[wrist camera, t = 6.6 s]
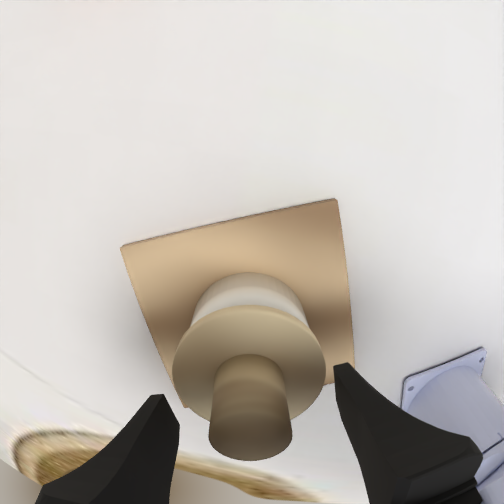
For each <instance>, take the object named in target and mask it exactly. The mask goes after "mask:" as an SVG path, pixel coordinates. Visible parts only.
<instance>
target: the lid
mask: <svg viewBox="0 0 504 504" xmlns="http://www.w3.org/2000/svg"><path fill="white" fill-rule="evenodd" d="M172 377H173V382H174V385H175V388H176V390H177V393H178V395H179V396H180V398H181V399H182V400H183V402H184V403H185V404H186V405H187V406H188V407H189V408H190V409H191V410H192V411H193V412H195V413H196V414H198V415H199V416H201V417H202V418H204V419H206V420H208V421H210V426H209V441H210V443H211V445H212V447H213V448H214V449H215V450H216V451H218V452H219V453H221V454H222V455H224V456H227V457H229V458H232V459H236V460H243V461H257V460H263V459H267V458H270V457H273V456H276V455H277V454H279V453H281V452H282V451H284V450H285V449H286V448H287V447H288V446H289V444H290V443H291V440H292V428H291V422H290V420H291V419H293V418H295V417H297V416H298V415H300V414H301V413H303V412H304V411H305V410H306V409H308V408H309V407H310V406H311V405H312V404H313V402H314V401H315V400H316V398H317V397H318V395H319V394H320V392H321V390H322V388H323V385H324V382H325V377H326V364H325V359H324V356H323V353H322V350H321V347H320V345H319V342H318V340H317V338H316V336H315V335H314V334H313V332H312V331H311V330H310V329H309V328H308V327H307V326H306V325H305V324H304V323H303V322H302V321H300V320H299V319H298V318H296V317H294V316H293V315H291V314H289V313H287V312H284V311H282V310H279V309H276V308H272V307H268V306H260V305H238V306H232V307H227V308H223V309H220V310H217V311H214V312H212V313H210V314H208V315H206V316H204V317H203V318H201V319H199V320H198V321H197V322H195V323H194V324H193V325H192V326H191V327H190V328H189V329H188V330H187V331H186V333H185V334H184V335H183V337H182V339H181V340H180V342H179V345H178V347H177V350H176V354H175V357H174V361H173V365H172Z"/></svg>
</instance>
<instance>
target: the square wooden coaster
mask: <svg viewBox="0 0 504 504" xmlns="http://www.w3.org/2000/svg"><path fill="white" fill-rule="evenodd" d="M120 251H121V254H122V257H123V260H124V263H125V266H126V269H127V272H128V275H129V278H130V280H131V283H132V286H133V289H134V291H135V294H136V297H137V300H138V302H139V305H140V308H141V310H142V313H143V315H144V318H145V320H146V323H147V326H148V328H149V330H150V333H151V335H152V338H153V340H154V343H155V345H156V347H157V350H158V352H159V354H160V357H161V359H162V361H163V364H164V366H165V368H166V370H167V373H168V375H169V377H170V379H171V381H172V383H173V386H174V388H175V385H174V382H173V377H172V365H173V361H174V357H175V354H176V350H177V347H178V345H179V342H180V340H181V339H182V337H183V335H184V334H185V333H186V331H187V330H188V329H189V328H190V325H191V322H192V318H193V315H194V311H195V308H196V305H197V303H198V301H199V299H200V297H201V296H202V294H203V293H204V292H205V291H206V290H207V289H208V288H209V287H210V286H211V285H212V284H214V283H215V282H216V281H218V280H220V279H222V278H224V277H227V276H229V275H233V274H237V273H244V272H253V273H261V274H266V275H269V276H272V277H274V278H276V279H278V280H280V281H282V282H283V283H285V284H286V285H287V286H289V287H290V288H291V289H292V290H293V292H294V293H295V294H296V295H297V297H298V299H299V300H300V303H301V305H302V308H303V311H304V313H305V316H306V319H307V322H308V325H309V328H310V330H311V331H312V332H313V334H314V335H315V336H316V338H317V340H318V342H319V345H320V347H321V350H322V353H323V356H324V359H325V364H326V377H325V382H324V385H326V384H331V383H335V381H334V371H333V366H334V365H338V364H342V363H346V362H348V363H350V364H351V365H352V367H353V368H354V369H355V363H354V346H353V331H352V318H351V306H350V295H349V285H348V276H347V267H346V259H345V250H344V243H343V235H342V228H341V221H340V214H339V207H338V201H337V200H336V199H335V198H334V199H329V200H324V201H319V202H313V203H308V204H303V205H299V206H294V207H289V208H284V209H279V210H274V211H270V212H265V213H260V214H255V215H251V216H246V217H242V218H237V219H233V220H228V221H224V222H219V223H215V224H210V225H206V226H201V227H197V228H193V229H188V230H184V231H180V232H176V233H171V234H167V235H163V236H159V237H155V238H151V239H147V240H143V241H138V242H134V243H130V244H126V245H123V246H122V247H121V248H120ZM175 390H176V388H175ZM176 392H177V390H176ZM177 394H178V393H177ZM178 396H179V395H178ZM179 398H180V396H179ZM180 400H181V402H182V404H183V406H184V408H189V407H188V406H187V405H186V404H185V403H184V402H183V400H182V399H181V398H180Z"/></svg>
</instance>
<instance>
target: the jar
mask: <svg viewBox="0 0 504 504" xmlns="http://www.w3.org/2000/svg"><path fill="white" fill-rule="evenodd" d="M238 305H260V306H268V307H272V308H276V309H279V310H282V311H284V312H287V313H289V314H291V315H293V316H294V317H296V318H298V319H299V320H300V321H302V322H303V323H304V324H305V325H306V326H307V327H308V328H309V325H308V322H307V319H306V316H305V313H304V311H303V308H302V305H301V303H300V300H299V299H298V297H297V295H296V294H295V293H294V292H293V290H292V289H291V288H290V287H289V286H287V285H286V284H285V283H283V282H282V281H280V280H278V279H276V278H274V277H272V276H269V275H266V274H261V273H253V272H244V273H237V274H233V275H229V276H227V277H224V278H222V279H220V280H218V281H216V282H215V283H214V284H212V285H211V286H210V287H209V288H208V289H207V290H206V291H205V292H204V293H203V294H202V296H201V297H200V299H199V301H198V303H197V305H196V308H195V311H194V315H193V318H192V322H191V325H190V327H191V326H192V325H193V324H194V323H195V322H197V321H198V320H199V319H201V318H203V317H204V316H206V315H208V314H210V313H212V312H214V311H217V310H220V309H223V308H227V307H232V306H238ZM309 329H310V328H309Z"/></svg>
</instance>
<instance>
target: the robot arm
mask: <svg viewBox="0 0 504 504" xmlns="http://www.w3.org/2000/svg"><path fill="white" fill-rule="evenodd" d="M486 354H487V351H486V350H485V349H484V348H481V349H479V350H477V351H474V352H472V353H470V354H468V355H465V356H463V357H461V358H458V359H456V360H453V361H451V362H448V363H446V364H443V365H441V366H438V367H435V368H433V369H430V370H427V371H425V372H422V373H419V374H416V375H414V376H411V377H408V378H407V379H406V380H405V382H404V389H403V399H402V408H399V407H398V406H396V405H395V404H393V403H392V402H391V401H389V400H388V399H387V398H385V397H384V396H383V395H382V394H380V393H379V392H378V391H377V390H376V389H375V388H373V387H372V386H371V385H370V384H369V383H368V382H367V381H366V380H365V379H364V378H363V377H362V376H361V375H360V374H359V373H358V372H357V371H356V370H355V369H354V368H353V367H352V365H351V364H350V363H348V362H346V363H342V364H338V365H334V366H333V371H334V381H335V392H336V401H337V405H338V409H339V412H340V416H341V419H342V422H343V424H344V427H345V429H346V432H347V434H348V437H349V439H350V442H351V444H352V447H353V449H354V451H355V454H356V456H357V459H358V462H359V465H360V467H361V471H362V475H363V479H364V482H365V486H366V490H367V494H368V498H369V503H370V504H504V405H503V404H502V403H501V401H500V400H499V399H498V398H497V396H496V395H495V394H494V393H493V392H492V390H491V389H490V388H489V387H488V385H487V384H486V383H485V382H484V381H483V380H482V378H481V374H482V370H483V366H484V362H485V358H486ZM409 387H410V388H409ZM179 430H180V424H179V422H178V421H177V419H176V417H175V415H174V413H173V411H172V409H171V407H170V405H169V404H168V402H167V400H166V398H165V396H164V394H157V395H151V396H150V397H149V398H148V399H147V400H146V402H145V403H144V404H143V405H142V406H141V408H140V409H139V410H138V411H137V413H136V414H135V415H134V416H133V417H132V419H131V420H130V421H129V422H128V423H127V425H126V426H125V427H124V428H123V429H122V430H121V431H120V432H119V433H118V434H117V436H116V437H115V438H114V439H113V440H112V441H111V442H110V443H109V444H108V445H107V446H106V447H105V448H103V449H102V450H101V451H100V452H99V453H98V454H96V455H95V456H94V457H93V458H91V459H90V460H88V461H87V462H86V463H84V464H83V465H81V466H80V467H78V468H77V469H75V470H74V471H72V472H70V473H69V474H66V475H65V476H63V477H61V478H59V479H56V480H54V481H52V482H50V483H47V484H45V485H43V487H42V489H41V491H40V493H39V496H38V498H37V500H36V503H35V504H169V496H170V487H171V481H172V475H173V471H174V466H175V461H176V456H177V451H178V445H179Z"/></svg>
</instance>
